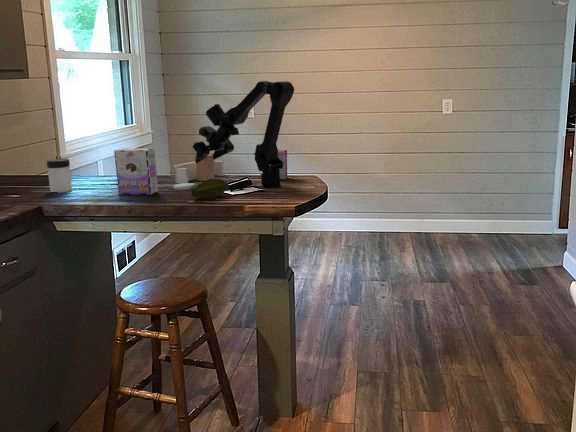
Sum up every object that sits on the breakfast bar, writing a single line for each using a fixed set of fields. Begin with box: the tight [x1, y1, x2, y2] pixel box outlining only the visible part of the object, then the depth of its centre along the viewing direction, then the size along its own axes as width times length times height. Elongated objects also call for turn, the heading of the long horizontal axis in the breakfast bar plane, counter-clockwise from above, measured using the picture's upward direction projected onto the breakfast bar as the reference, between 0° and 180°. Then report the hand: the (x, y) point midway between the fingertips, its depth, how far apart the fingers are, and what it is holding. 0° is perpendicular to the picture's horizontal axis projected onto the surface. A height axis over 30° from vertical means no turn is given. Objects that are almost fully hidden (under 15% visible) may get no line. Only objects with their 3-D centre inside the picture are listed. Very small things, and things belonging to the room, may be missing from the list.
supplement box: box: [278, 149, 288, 181], centre depth 249 cm, size 6×6×12 cm
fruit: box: [189, 178, 229, 201], centre depth 216 cm, size 11×12×7 cm
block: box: [195, 154, 216, 182], centre depth 254 cm, size 5×5×10 cm
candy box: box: [113, 147, 159, 196], centre depth 229 cm, size 14×6×16 cm, turn 71°
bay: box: [173, 159, 225, 184], centre depth 256 cm, size 6×22×7 cm, turn 143°
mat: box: [172, 182, 196, 191], centre depth 238 cm, size 9×9×1 cm
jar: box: [46, 158, 73, 194], centre depth 241 cm, size 9×8×12 cm
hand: (204, 161), depth 253 cm, fingers open, 9 cm apart
